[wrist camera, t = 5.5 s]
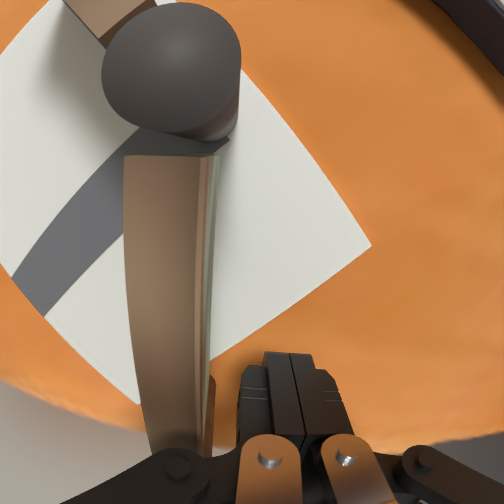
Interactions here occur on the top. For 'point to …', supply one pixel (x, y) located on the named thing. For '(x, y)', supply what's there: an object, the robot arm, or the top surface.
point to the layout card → (111, 200)
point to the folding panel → (171, 293)
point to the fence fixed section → (167, 65)
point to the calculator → (480, 25)
